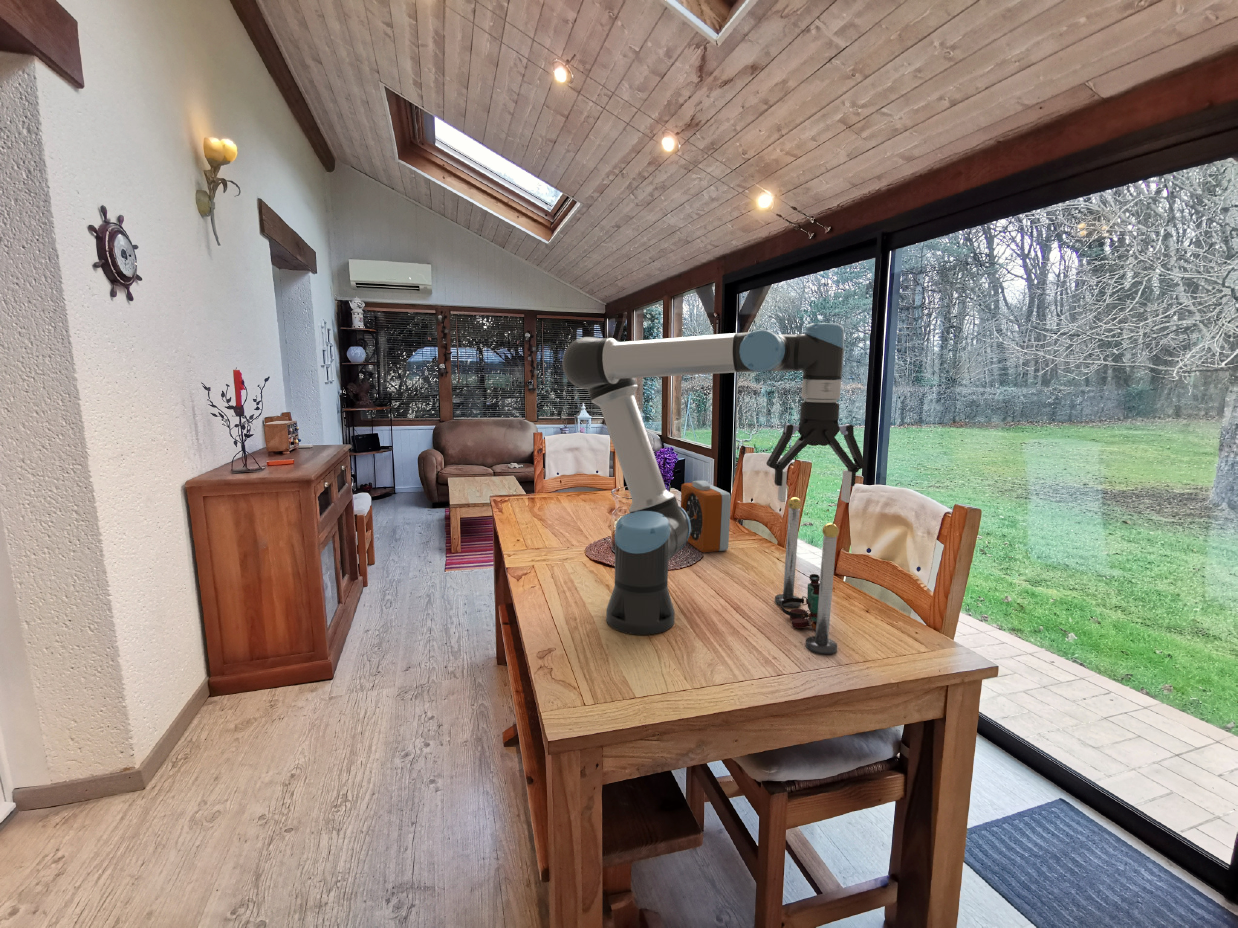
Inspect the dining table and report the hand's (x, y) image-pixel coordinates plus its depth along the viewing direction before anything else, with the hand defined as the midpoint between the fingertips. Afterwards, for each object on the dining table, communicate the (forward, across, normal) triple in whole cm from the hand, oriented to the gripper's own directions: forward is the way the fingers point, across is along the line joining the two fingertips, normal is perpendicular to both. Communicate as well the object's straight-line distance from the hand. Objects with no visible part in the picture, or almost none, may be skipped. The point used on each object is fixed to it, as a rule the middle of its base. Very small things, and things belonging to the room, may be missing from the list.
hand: (813, 501), depth 120 cm
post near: (+28, 0, -11) cm, 30 cm away
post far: (+28, 0, +11) cm, 30 cm away
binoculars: (+28, 0, 0) cm, 28 cm away
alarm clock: (+28, -14, +56) cm, 64 cm away
